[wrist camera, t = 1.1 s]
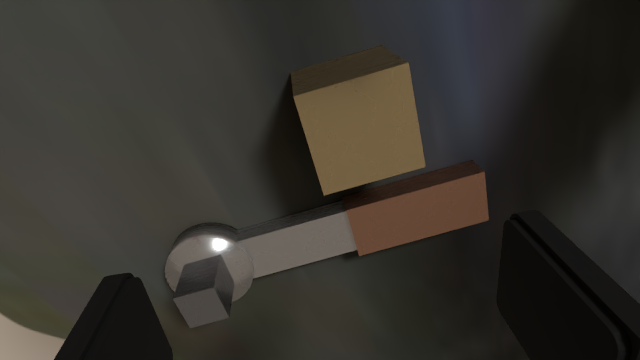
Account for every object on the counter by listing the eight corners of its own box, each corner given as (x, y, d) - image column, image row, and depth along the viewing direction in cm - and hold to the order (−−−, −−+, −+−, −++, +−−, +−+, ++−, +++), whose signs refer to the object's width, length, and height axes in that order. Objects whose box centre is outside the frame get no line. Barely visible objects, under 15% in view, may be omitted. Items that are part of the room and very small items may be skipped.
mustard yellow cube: (381, 45, 25) (408, 62, 20) (397, 131, 28) (425, 166, 23) (290, 72, 25) (293, 96, 20) (315, 154, 28) (324, 195, 23)
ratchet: (470, 146, 29) (509, 180, 24) (478, 217, 32) (514, 261, 27) (157, 236, 30) (133, 285, 25) (191, 296, 33) (176, 352, 28)
